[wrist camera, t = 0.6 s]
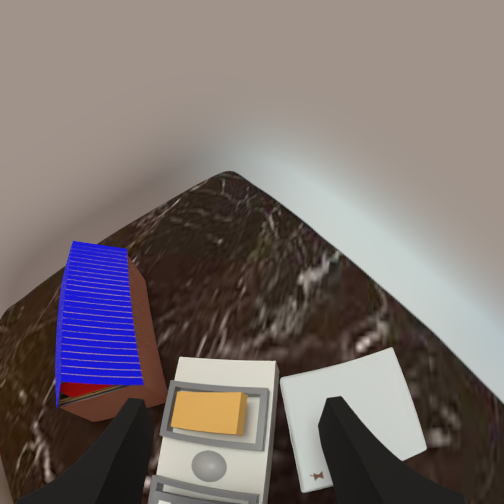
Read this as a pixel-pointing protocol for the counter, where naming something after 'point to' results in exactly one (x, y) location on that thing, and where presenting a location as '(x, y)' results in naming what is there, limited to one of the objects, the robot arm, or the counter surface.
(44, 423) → the counter surface
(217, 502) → the charcoal rocker
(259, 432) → the cream switch panel
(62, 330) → the house
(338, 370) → the supplement box
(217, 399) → the amber rocker
